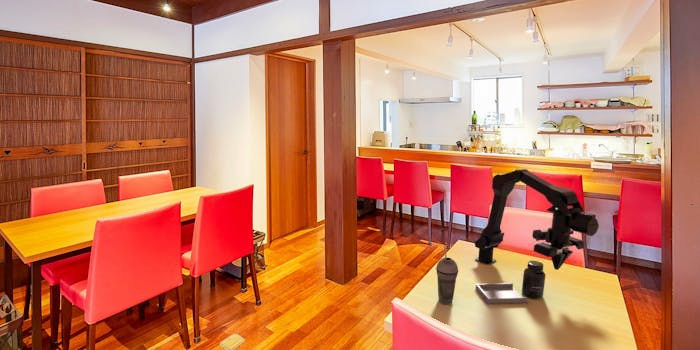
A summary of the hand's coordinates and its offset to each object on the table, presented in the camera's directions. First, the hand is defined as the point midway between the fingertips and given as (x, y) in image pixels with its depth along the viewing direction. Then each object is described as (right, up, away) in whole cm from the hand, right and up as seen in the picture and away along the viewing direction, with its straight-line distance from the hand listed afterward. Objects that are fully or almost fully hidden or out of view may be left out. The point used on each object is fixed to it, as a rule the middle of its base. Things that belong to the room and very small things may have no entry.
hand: (556, 269), depth 124 cm
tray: (-19, -10, +1) cm, 22 cm away
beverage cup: (-40, -10, -3) cm, 41 cm away
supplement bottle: (-8, -10, +1) cm, 12 cm away
